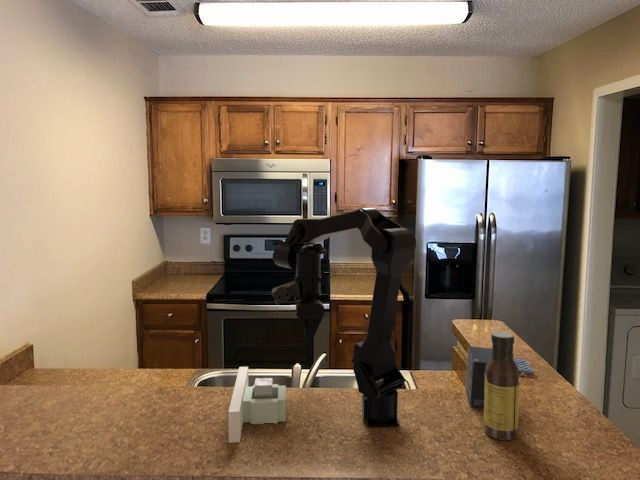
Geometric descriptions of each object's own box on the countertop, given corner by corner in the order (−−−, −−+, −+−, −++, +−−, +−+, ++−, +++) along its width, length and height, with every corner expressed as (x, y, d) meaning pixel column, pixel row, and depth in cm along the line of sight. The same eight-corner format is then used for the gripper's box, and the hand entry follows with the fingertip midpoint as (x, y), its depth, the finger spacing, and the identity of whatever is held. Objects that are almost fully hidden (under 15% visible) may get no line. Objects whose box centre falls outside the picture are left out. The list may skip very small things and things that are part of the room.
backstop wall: (248, 391, 109) (248, 366, 108) (239, 442, 87) (239, 411, 87) (239, 391, 109) (239, 366, 108) (228, 442, 87) (228, 411, 86)
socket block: (285, 403, 103) (285, 384, 103) (285, 423, 94) (285, 401, 94) (246, 404, 102) (246, 385, 102) (242, 424, 94) (242, 402, 93)
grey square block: (272, 409, 100) (272, 378, 100) (272, 417, 97) (272, 385, 96) (255, 410, 100) (255, 378, 99) (254, 418, 97) (254, 385, 96)
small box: (501, 411, 100) (503, 363, 99) (469, 408, 102) (471, 361, 101) (493, 390, 111) (495, 347, 110) (464, 387, 112) (466, 345, 111)
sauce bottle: (499, 422, 95) (503, 327, 93) (524, 437, 90) (530, 336, 88) (475, 429, 92) (479, 331, 90) (500, 445, 87) (505, 340, 85)
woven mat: (493, 376, 120) (493, 369, 120) (485, 361, 130) (486, 354, 130) (536, 379, 118) (537, 372, 118) (525, 364, 129) (525, 357, 128)
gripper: (274, 265, 119) (274, 325, 120) (272, 279, 100) (273, 350, 102) (318, 265, 120) (318, 325, 121) (324, 279, 101) (324, 349, 103)
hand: (308, 336), depth 112 cm, fingers open, 9 cm apart
